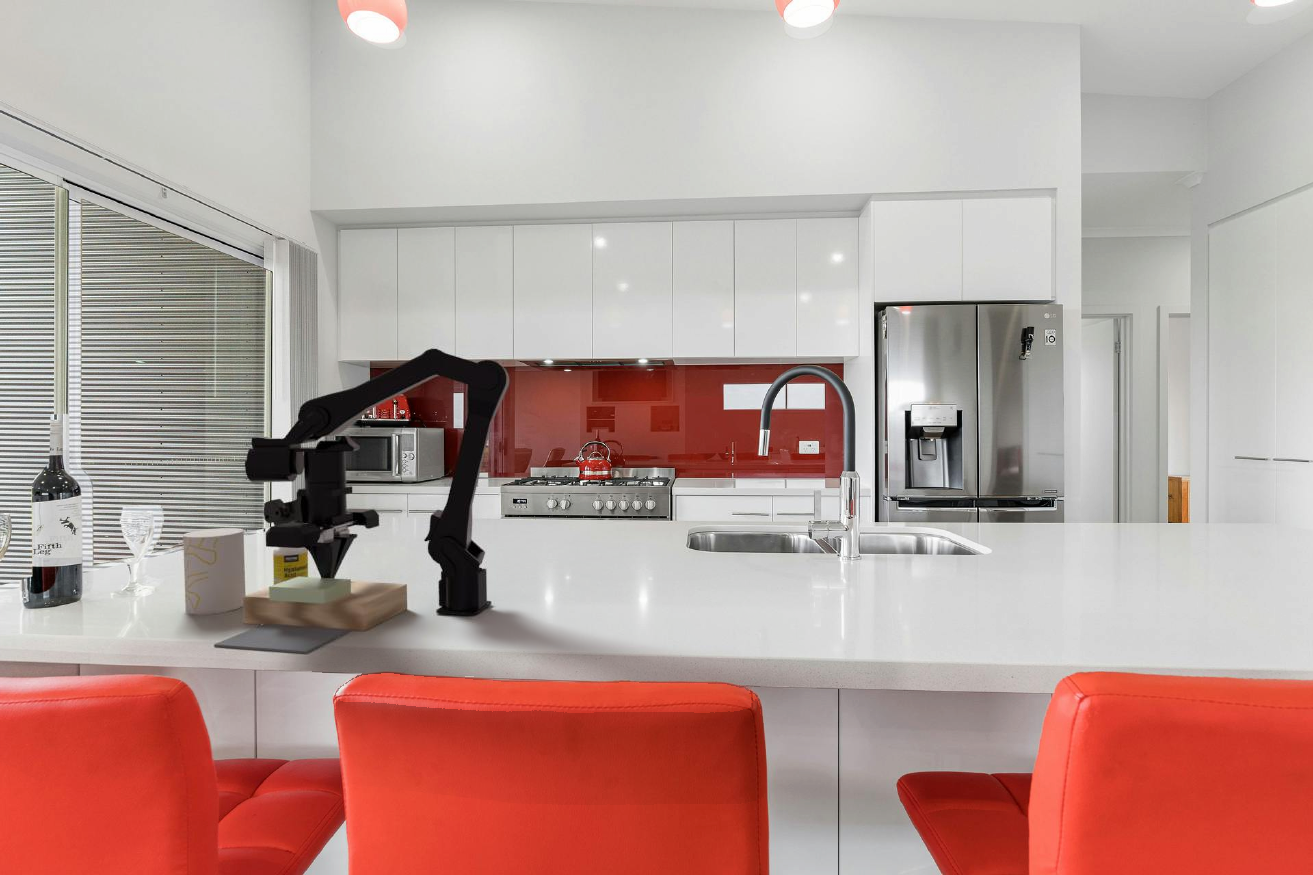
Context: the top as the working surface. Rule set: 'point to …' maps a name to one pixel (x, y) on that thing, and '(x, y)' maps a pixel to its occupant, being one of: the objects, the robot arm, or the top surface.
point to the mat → (283, 638)
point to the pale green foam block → (310, 590)
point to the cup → (214, 570)
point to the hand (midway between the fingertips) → (327, 582)
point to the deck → (331, 608)
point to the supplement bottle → (289, 563)
